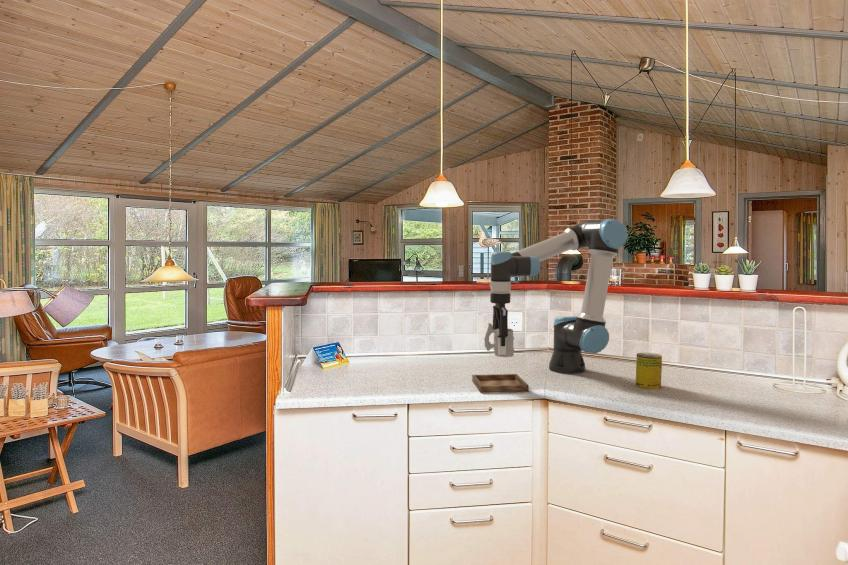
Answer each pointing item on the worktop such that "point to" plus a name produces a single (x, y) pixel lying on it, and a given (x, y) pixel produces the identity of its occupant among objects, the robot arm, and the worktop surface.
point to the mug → (488, 345)
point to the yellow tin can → (648, 370)
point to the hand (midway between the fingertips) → (499, 352)
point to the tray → (500, 383)
